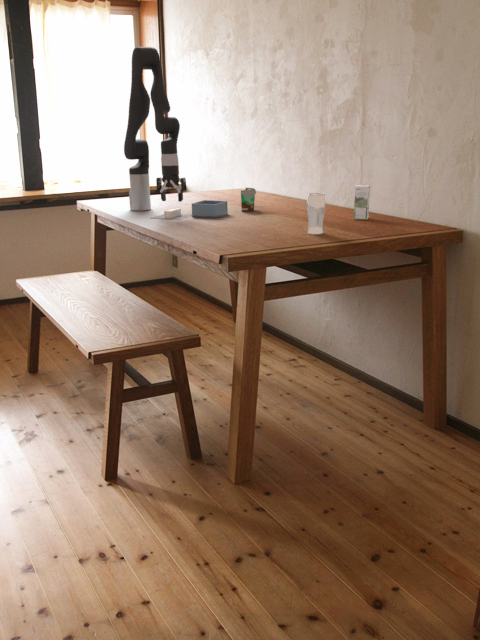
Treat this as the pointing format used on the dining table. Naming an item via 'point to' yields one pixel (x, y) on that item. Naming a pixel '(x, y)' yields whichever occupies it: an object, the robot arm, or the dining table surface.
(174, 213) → the lid
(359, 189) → the syrup box
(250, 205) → the food container
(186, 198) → the dining table surface
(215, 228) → the dining table surface
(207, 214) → the dish
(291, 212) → the dining table surface
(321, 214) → the beer glass
